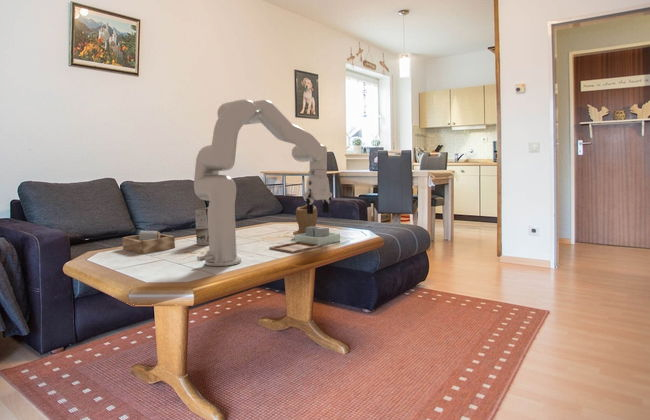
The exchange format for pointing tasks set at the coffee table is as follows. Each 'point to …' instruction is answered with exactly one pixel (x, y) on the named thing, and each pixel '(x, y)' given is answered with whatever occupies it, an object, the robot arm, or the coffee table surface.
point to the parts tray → (295, 247)
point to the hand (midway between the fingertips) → (317, 213)
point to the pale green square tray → (318, 239)
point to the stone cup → (305, 219)
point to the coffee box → (202, 226)
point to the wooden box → (148, 244)
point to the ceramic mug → (149, 235)
